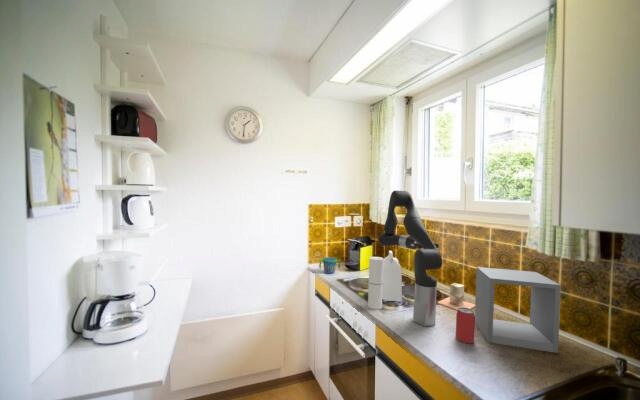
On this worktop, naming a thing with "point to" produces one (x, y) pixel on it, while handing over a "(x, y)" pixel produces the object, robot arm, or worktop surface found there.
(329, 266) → the snack cup
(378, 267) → the cylindrical container
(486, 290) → the box
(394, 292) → the milk
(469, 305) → the terracotta mat
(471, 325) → the beer can
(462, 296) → the maple block
